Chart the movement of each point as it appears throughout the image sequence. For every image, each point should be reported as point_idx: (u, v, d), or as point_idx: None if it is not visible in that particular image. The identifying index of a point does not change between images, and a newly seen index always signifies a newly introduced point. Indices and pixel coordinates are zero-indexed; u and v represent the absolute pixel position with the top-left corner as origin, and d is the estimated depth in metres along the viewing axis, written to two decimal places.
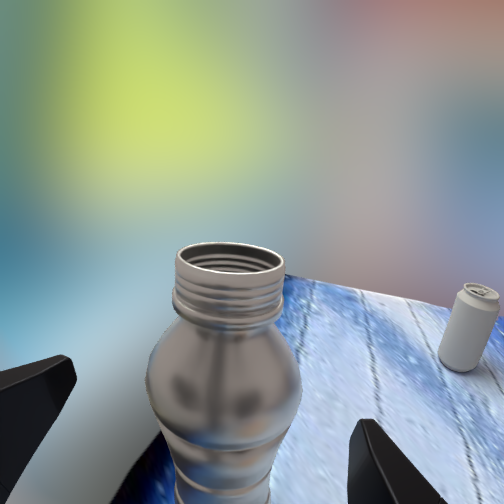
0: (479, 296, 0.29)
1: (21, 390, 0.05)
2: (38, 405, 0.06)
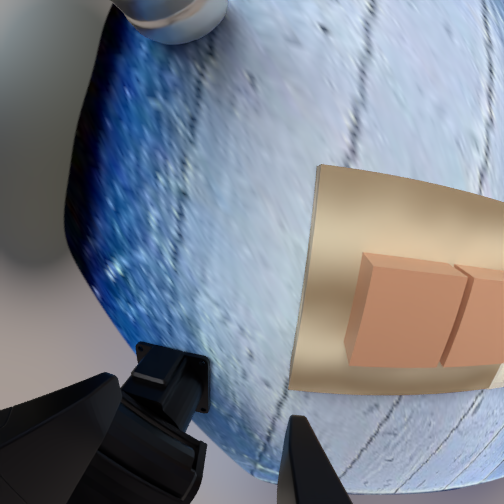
0: None
1: (65, 416, 0.05)
2: (84, 431, 0.06)
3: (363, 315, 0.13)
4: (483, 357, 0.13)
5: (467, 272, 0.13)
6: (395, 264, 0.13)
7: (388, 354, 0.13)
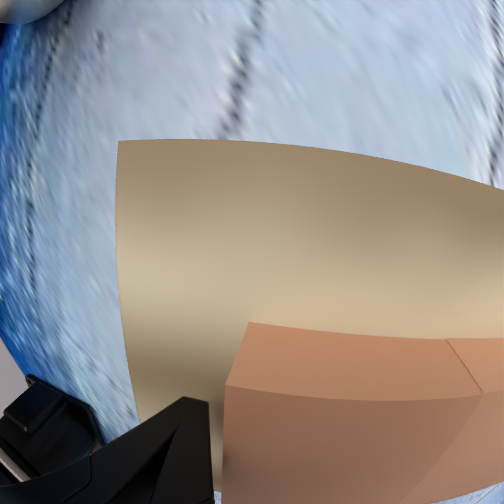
0: None
1: (155, 455, 0.05)
2: None
3: (224, 457, 0.06)
4: (471, 487, 0.05)
5: (470, 369, 0.05)
6: (302, 371, 0.05)
7: (292, 503, 0.06)
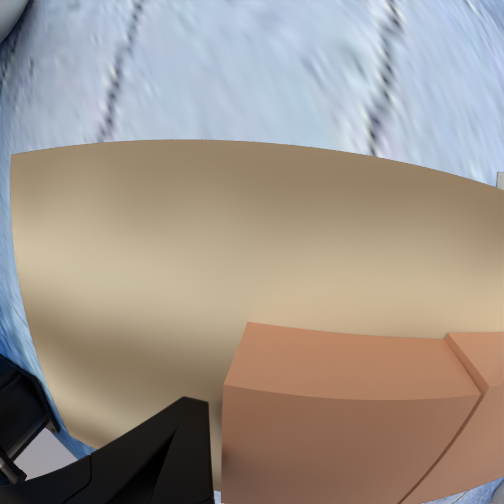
0: None
1: (155, 455, 0.05)
2: None
3: (223, 456, 0.06)
4: (475, 482, 0.05)
5: (474, 363, 0.05)
6: (299, 371, 0.05)
7: (291, 502, 0.06)
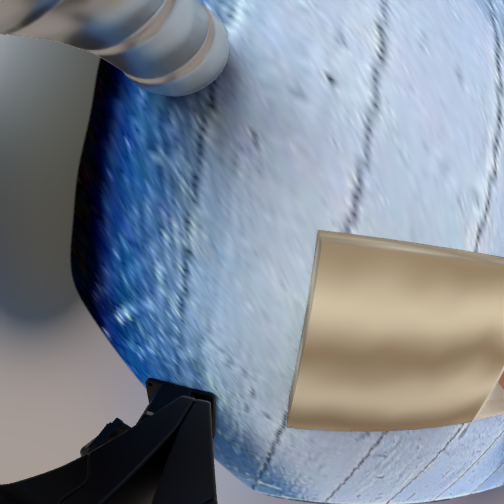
0: None
1: (153, 454, 0.05)
2: None
3: None
4: None
5: None
6: None
7: None
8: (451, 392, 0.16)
